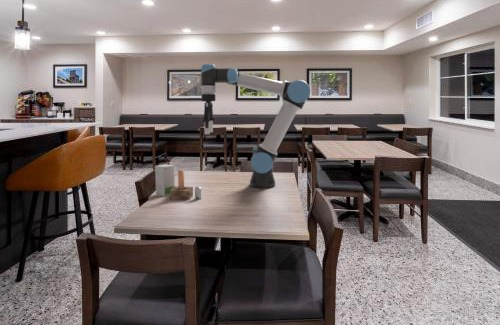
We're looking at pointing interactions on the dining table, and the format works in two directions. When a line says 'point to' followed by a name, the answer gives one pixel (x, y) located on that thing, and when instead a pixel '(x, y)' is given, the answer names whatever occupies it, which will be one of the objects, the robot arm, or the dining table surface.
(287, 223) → the dining table surface
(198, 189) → the short pin
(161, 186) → the skincare box
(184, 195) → the socket block
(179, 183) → the long pin
